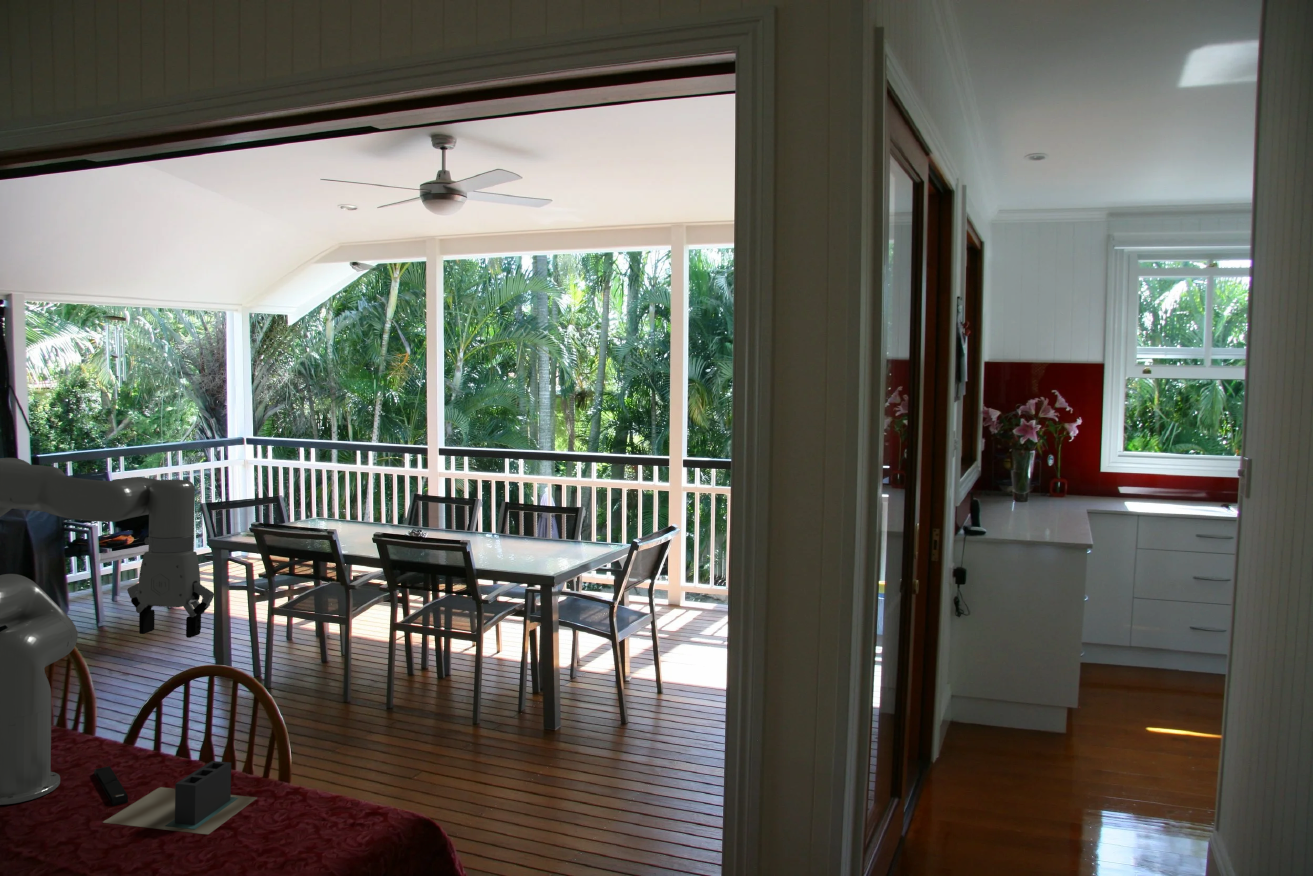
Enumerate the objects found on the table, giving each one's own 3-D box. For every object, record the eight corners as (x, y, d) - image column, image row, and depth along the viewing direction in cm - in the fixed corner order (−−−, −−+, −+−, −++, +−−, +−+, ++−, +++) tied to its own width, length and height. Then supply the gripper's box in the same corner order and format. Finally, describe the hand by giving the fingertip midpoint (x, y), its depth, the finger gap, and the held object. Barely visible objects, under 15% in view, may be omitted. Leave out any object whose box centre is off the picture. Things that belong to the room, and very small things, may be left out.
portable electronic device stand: (93, 782, 167) (93, 766, 167) (108, 778, 169) (109, 763, 169) (112, 816, 154) (112, 800, 154) (129, 812, 156) (129, 796, 155)
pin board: (102, 830, 148) (102, 802, 148) (159, 795, 162) (160, 769, 162) (208, 843, 145) (208, 814, 145) (257, 805, 159) (257, 779, 159)
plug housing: (194, 825, 148) (195, 785, 148) (174, 823, 148) (175, 783, 148) (230, 800, 157) (231, 762, 157) (211, 798, 158) (212, 760, 158)
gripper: (115, 545, 160) (113, 636, 160) (200, 550, 157) (198, 642, 158) (144, 539, 167) (143, 626, 168) (225, 544, 165) (224, 632, 165)
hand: (169, 634), depth 163 cm, fingers open, 9 cm apart
